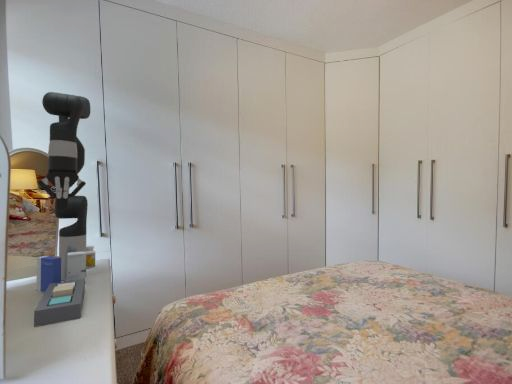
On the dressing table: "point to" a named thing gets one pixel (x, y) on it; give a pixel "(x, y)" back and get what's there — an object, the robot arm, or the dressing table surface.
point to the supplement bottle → (90, 256)
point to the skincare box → (76, 266)
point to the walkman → (48, 271)
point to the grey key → (67, 284)
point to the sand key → (63, 290)
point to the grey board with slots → (59, 305)
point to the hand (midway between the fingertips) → (62, 210)
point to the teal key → (60, 300)
